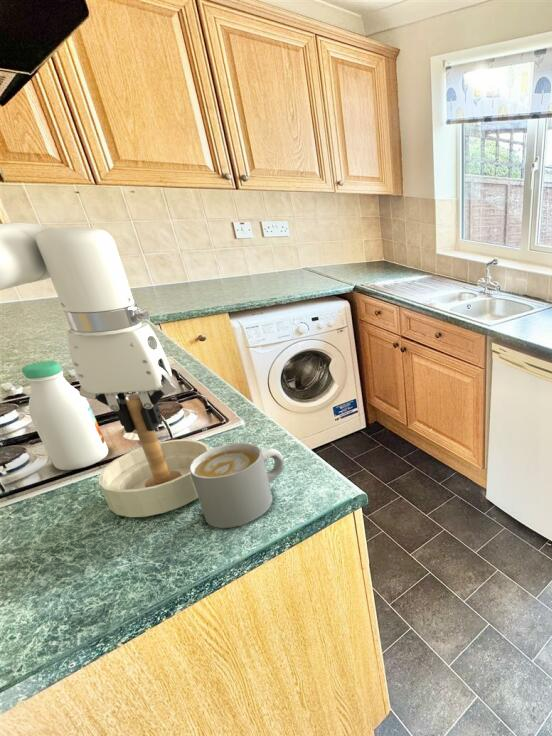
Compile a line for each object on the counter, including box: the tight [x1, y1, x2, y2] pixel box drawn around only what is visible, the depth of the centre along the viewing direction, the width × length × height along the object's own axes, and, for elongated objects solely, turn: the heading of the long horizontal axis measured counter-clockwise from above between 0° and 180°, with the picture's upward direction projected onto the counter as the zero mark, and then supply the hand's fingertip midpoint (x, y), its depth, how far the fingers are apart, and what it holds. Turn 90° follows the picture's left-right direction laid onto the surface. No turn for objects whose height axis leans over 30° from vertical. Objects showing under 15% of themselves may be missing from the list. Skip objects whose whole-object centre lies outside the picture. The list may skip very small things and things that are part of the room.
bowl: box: [97, 438, 211, 518], centre depth 74 cm, size 15×15×6 cm
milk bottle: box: [21, 360, 109, 471], centre depth 77 cm, size 8×8×20 cm
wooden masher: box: [125, 393, 182, 487], centre depth 69 cm, size 5×5×17 cm
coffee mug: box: [190, 442, 285, 529], centre depth 71 cm, size 13×10×10 cm
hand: (144, 427), depth 68 cm, fingers closed on wooden masher
